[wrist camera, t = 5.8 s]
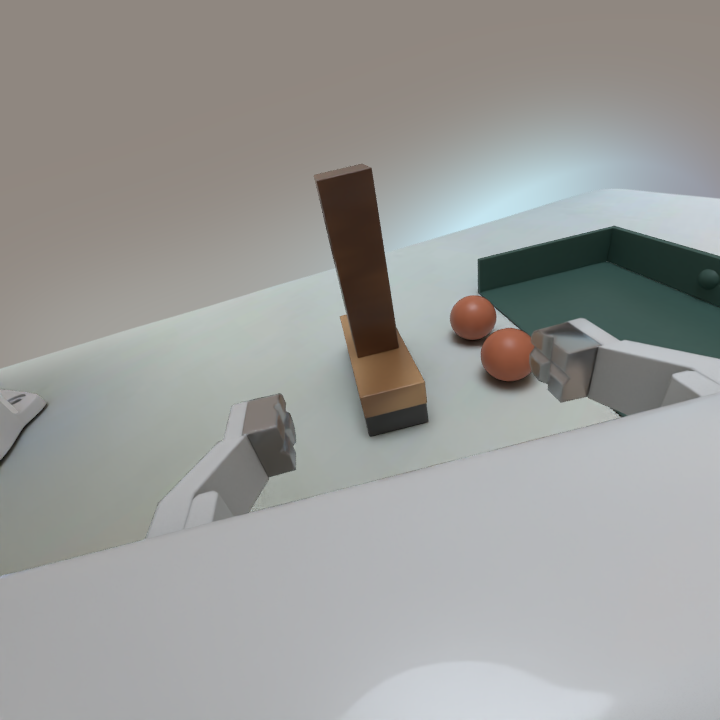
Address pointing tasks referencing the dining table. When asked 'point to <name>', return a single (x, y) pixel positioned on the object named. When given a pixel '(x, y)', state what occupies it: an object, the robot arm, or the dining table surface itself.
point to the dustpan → (611, 288)
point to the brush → (369, 303)
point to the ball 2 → (507, 354)
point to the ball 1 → (473, 317)
